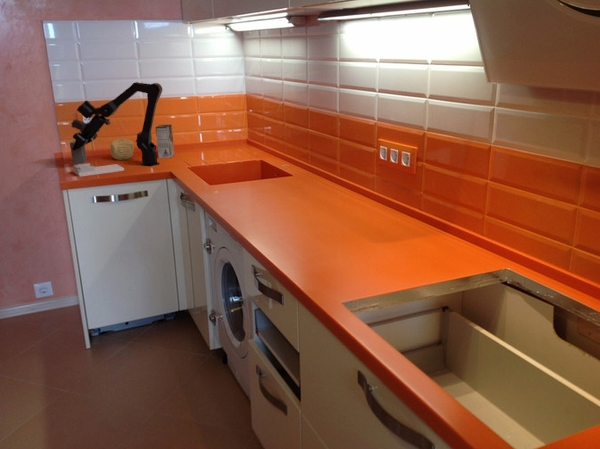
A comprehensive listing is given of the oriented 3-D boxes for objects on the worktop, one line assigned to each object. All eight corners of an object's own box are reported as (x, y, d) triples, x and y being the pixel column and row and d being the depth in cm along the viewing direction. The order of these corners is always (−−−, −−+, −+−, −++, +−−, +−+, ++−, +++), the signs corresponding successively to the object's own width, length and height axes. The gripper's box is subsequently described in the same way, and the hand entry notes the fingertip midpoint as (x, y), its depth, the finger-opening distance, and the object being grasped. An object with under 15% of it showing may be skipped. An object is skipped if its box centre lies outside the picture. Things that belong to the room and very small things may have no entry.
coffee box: (162, 154, 292) (159, 124, 287) (174, 154, 292) (171, 124, 287) (158, 158, 283) (155, 127, 278) (170, 157, 283) (167, 126, 278)
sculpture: (114, 162, 275) (111, 140, 272) (109, 158, 285) (106, 137, 282) (137, 159, 281) (134, 138, 277) (131, 155, 291) (129, 135, 287)
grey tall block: (86, 161, 269) (83, 138, 265) (83, 163, 264) (79, 140, 261) (76, 161, 269) (73, 139, 265) (73, 163, 264) (69, 140, 260)
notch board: (117, 166, 265) (116, 159, 264) (123, 170, 256) (123, 163, 255) (74, 172, 254) (72, 164, 253) (79, 176, 246) (78, 168, 244)
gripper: (87, 111, 268) (68, 134, 271) (73, 116, 250) (53, 140, 253) (105, 126, 271) (86, 149, 274) (93, 132, 253) (73, 157, 256)
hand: (75, 148), depth 264 cm, fingers closed on grey tall block, 5 cm apart
